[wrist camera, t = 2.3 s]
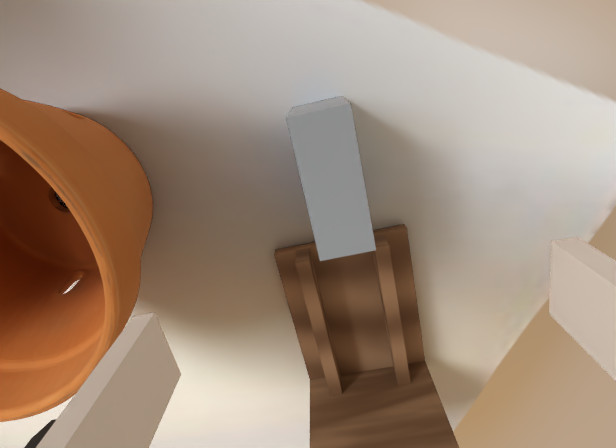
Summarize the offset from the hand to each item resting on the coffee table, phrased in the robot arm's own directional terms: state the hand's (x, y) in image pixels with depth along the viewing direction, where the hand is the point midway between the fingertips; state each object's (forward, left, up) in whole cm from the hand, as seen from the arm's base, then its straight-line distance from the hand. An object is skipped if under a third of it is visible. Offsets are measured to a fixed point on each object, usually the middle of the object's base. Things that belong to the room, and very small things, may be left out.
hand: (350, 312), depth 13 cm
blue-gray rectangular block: (0, 0, -21) cm, 21 cm away
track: (+15, 0, -21) cm, 26 cm away
